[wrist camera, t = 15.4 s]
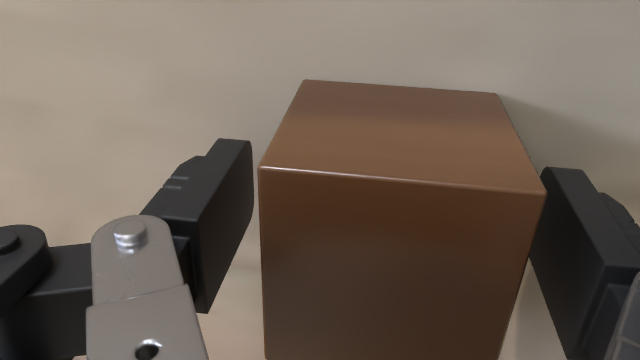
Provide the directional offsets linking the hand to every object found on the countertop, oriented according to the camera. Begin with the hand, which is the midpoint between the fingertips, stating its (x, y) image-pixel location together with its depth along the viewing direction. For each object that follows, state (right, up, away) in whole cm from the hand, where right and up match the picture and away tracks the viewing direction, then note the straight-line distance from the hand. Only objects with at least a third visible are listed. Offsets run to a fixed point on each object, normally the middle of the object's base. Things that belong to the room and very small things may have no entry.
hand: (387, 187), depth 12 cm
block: (0, 0, +1) cm, 1 cm away
